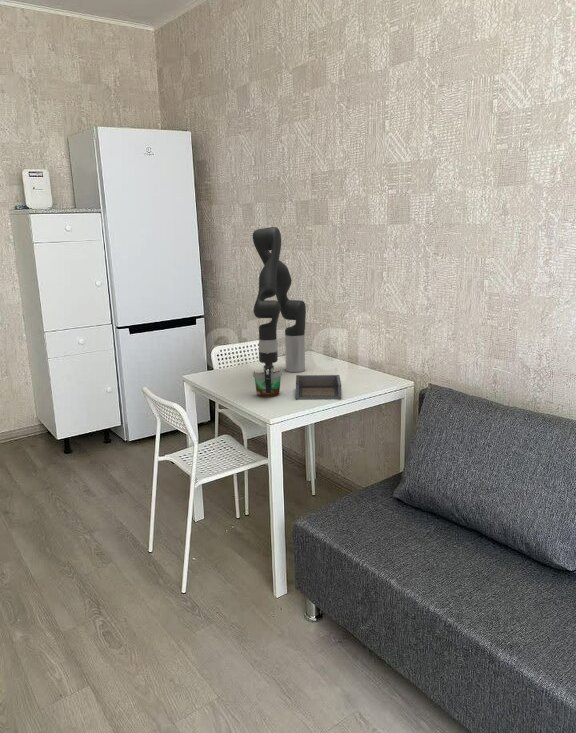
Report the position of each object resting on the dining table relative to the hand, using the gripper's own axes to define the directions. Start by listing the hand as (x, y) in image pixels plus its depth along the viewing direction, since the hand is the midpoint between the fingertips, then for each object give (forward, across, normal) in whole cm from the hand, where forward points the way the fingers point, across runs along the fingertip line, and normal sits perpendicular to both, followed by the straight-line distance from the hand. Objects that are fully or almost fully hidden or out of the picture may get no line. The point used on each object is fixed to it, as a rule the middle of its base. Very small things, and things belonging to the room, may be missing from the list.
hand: (269, 390), depth 245 cm
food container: (+2, +1, 0) cm, 2 cm away
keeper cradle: (+2, -1, +20) cm, 20 cm away
